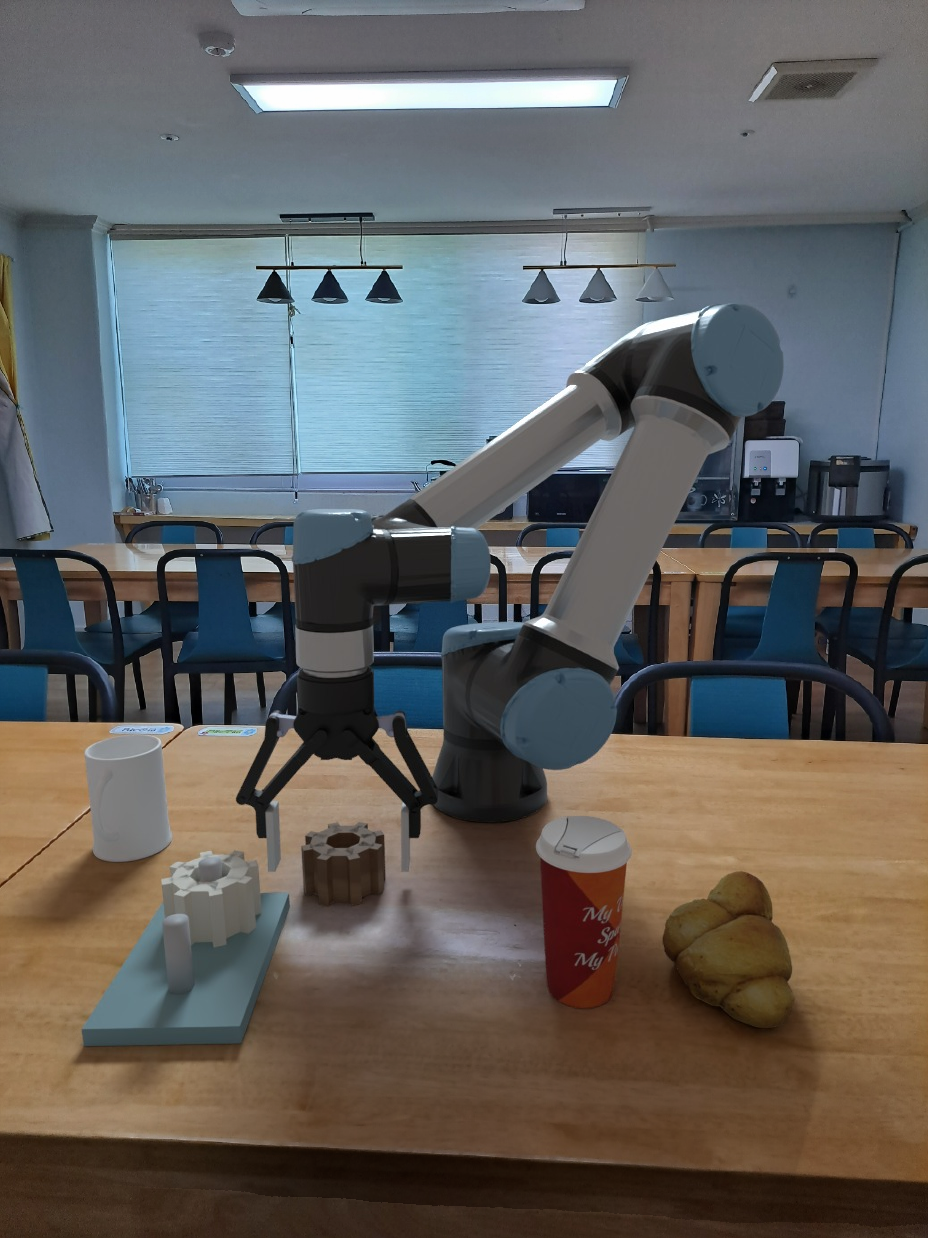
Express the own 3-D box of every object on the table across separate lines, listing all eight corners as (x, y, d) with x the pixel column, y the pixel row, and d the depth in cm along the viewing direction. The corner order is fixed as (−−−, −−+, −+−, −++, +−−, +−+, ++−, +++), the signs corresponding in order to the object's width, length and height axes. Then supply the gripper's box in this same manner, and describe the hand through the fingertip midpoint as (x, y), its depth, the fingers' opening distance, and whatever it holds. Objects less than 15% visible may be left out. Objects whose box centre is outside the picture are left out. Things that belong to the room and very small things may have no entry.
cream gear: (268, 896, 79) (265, 849, 78) (247, 947, 71) (244, 895, 70) (184, 897, 79) (180, 851, 78) (154, 948, 71) (148, 897, 70)
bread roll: (819, 1041, 62) (827, 947, 60) (693, 1045, 61) (698, 950, 60) (754, 941, 74) (760, 861, 73) (649, 943, 74) (653, 863, 72)
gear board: (289, 906, 80) (285, 836, 79) (241, 1043, 62) (234, 956, 60) (168, 908, 80) (162, 838, 79) (83, 1046, 62) (73, 958, 60)
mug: (133, 880, 86) (122, 774, 83) (58, 875, 87) (46, 770, 84) (185, 829, 97) (177, 734, 95) (119, 825, 98) (109, 732, 96)
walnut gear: (387, 863, 88) (386, 821, 87) (381, 905, 80) (379, 859, 79) (312, 865, 88) (310, 822, 87) (298, 906, 80) (295, 860, 79)
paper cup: (605, 1031, 63) (610, 866, 60) (518, 996, 67) (519, 841, 64) (640, 976, 69) (646, 825, 66) (559, 948, 73) (561, 804, 70)
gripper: (461, 658, 83) (460, 848, 88) (219, 657, 83) (229, 848, 87) (462, 678, 76) (460, 884, 80) (196, 677, 76) (208, 884, 80)
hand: (340, 865), depth 84 cm, fingers open, 13 cm apart
